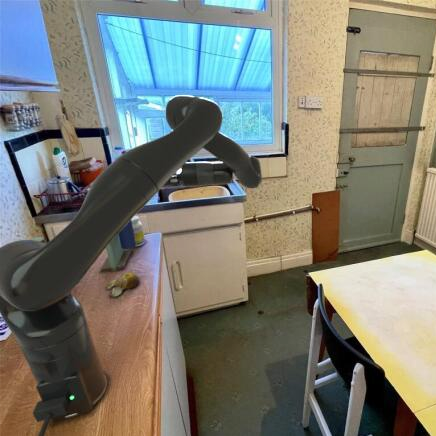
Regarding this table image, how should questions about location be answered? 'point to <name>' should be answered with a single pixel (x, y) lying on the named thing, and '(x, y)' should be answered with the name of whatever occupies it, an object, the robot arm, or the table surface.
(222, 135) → the robot arm
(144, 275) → the table surface
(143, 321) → the table surface
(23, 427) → the table surface
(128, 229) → the t-handle plunger
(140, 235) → the pill bottle
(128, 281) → the fruit
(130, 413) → the table surface
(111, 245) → the green panel
